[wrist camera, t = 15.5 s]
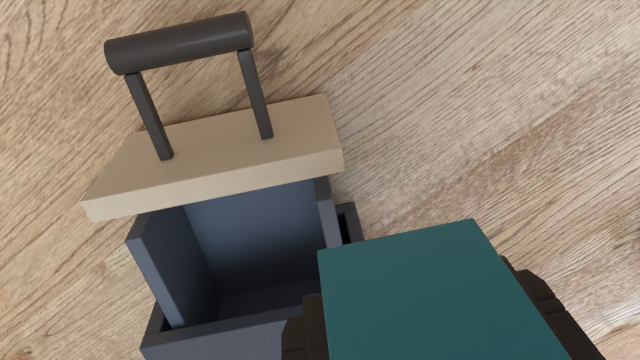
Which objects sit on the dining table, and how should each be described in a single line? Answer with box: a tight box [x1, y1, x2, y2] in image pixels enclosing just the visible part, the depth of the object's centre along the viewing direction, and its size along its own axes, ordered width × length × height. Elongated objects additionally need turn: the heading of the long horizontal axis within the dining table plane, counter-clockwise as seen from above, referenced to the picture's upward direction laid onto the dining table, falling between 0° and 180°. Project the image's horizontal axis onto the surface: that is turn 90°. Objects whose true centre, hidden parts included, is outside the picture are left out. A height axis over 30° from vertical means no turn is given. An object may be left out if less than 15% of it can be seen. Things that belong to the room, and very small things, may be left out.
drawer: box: [80, 11, 346, 330], centre depth 23 cm, size 19×12×7 cm, turn 11°
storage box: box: [140, 203, 365, 360], centre depth 29 cm, size 15×13×9 cm
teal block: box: [317, 218, 572, 360], centre depth 11 cm, size 4×4×5 cm
